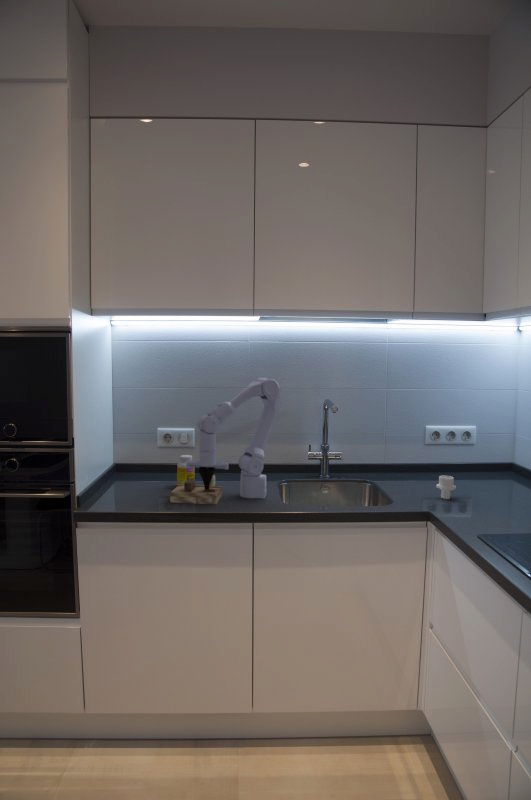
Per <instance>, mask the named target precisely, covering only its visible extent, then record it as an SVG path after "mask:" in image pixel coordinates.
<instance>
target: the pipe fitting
mask: <svg viewBox="0 0 531 800" xmlns="http://www.w3.org/2000/svg"><path fill="white" fill-rule="evenodd" d="M454 480H455V478H454V477H453V476H451V475H439V476H438V484H436V485H435V488H437V489H439V490H441V491H440V498H441V499H442V498H443V500H450V498H451V491H455V490H456V489H457V486H456V485H454V483H455V481H454Z"/></svg>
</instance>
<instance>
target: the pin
mask: <svg viewBox="0 0 531 800" xmlns="http://www.w3.org/2000/svg"><path fill="white" fill-rule="evenodd" d="M210 486H216V475H215V474H213V477H212V479H211V483H210Z"/></svg>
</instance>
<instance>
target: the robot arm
mask: <svg viewBox="0 0 531 800" xmlns="http://www.w3.org/2000/svg"><path fill="white" fill-rule="evenodd" d="M281 389H282V388H281V387H280V384H279V383H278V381H277V380H276V379H274V378H265V377H262V376H261V377H257V378H256V379H255V380H254V381H253V380H252V381H251V382H250V383H249V384H248V385H247V386H245V388H244V389H242V390H241V391H240V392H239V393H238V394H237V395H235V396H234V397H233V398H232V399H231V400H230V401H223V402H219V403H217V406H216V407H215V408H214V409H212V410H211V411H210V410H209V411H208V412H207V415H205V414H204V415H202V416H201V417H200V418H199V419H198V421H197V424H196V425H197V428H198V430H199V449H198V450H199V452H198V453H199V456H198V457H199V460H198V461H197V460H194V461H193V460H192V461H188V462H186V468H190V467H192V468H195V469H196V468H197V469H198V473H199V475H200V477H201V479H202V482H203V486H204V487H205V489H209V488H210V483H211V479H212V477H213V475H215V474H214V473H215V472H216V470H217V469H218V470H219V469H220V470H221V469H222V470H229V462H222V461H216V460H217V431H218V430H219V428H220V426H221V425H223V423H225V422H226V421H227V420H229V419H230V418H231V417H232V416H233V415H235V410H236V409H237V408H239V407H240V406H241V405H243V404H244V403H246V402H247V401H249V400H250V399H252V398H253V397H260V399H261V400H262V402H263V405H264V407H263V409H262V413H261V415H260V418H259V420H258V423H257V426H256V428H255V431H254V433H253V436H252V438H251V441H250V444H249V446H247V447H246V448H245V450H244V452H243V454H242V455H241V456H240V457H239V459H238V467H239V468H240V469H241V471H240V495H239V496H240V497H241V498H245V499H265V498H266V496H267V494H268V493H267V492H268V490H267V475H266V474H262V472H263V471H264V464H265V463H264V462H265V458H266V455H265V452H264V451H265V448H266V445H267V442H268V439H269V437H270V435H271V431H272V430H273V427H274V424H275V421H276V418H277V415H278V413H279V411H280V408H281V405H282V404H281V395H280V394H281V393H280V392H281Z"/></svg>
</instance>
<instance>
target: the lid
mask: <svg viewBox="0 0 531 800" xmlns="http://www.w3.org/2000/svg"><path fill="white" fill-rule="evenodd" d="M195 485H196V479H195V480H194V479H188V480H187V481H186V482H185V483H184V486H177V485H176V487H175V488H174V489H172V491H171V492H190V493H212V494H217V496H218V495H219V493H220V492H221V488H211V487H210V488H209V489H205V487H195Z"/></svg>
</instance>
